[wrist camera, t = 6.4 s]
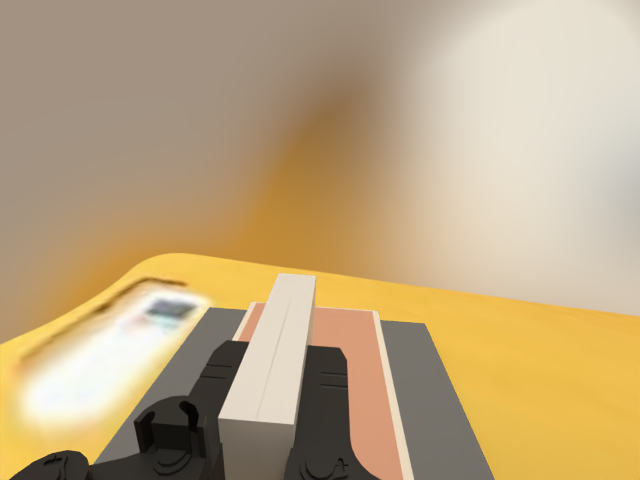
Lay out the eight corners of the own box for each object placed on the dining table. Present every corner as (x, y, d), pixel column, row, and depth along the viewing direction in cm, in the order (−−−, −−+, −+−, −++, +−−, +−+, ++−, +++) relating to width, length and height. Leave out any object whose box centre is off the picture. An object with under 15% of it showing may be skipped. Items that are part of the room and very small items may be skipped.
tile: (426, 664, 10) (373, 342, 25) (445, 610, 9) (378, 308, 24) (125, 628, 10) (252, 333, 25) (107, 572, 9) (251, 298, 24)
